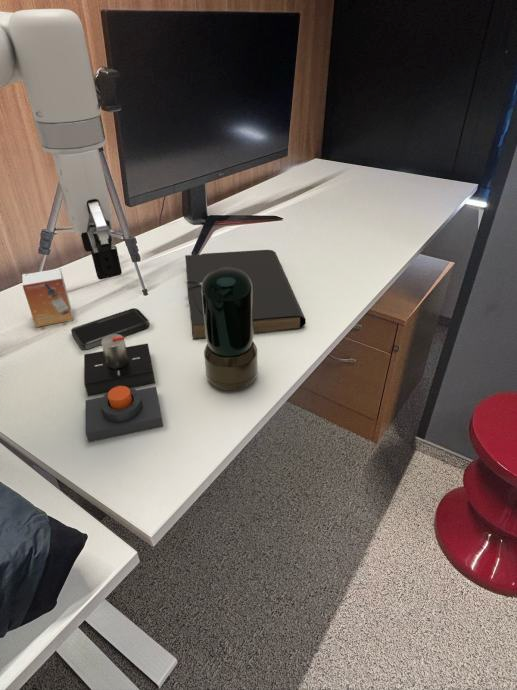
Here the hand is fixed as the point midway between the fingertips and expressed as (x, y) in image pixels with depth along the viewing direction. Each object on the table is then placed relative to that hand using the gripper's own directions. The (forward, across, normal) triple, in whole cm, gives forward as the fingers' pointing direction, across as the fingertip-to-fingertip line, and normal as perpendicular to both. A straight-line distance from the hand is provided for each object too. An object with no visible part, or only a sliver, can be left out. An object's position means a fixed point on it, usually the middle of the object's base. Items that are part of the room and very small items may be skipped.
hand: (102, 262), depth 68 cm
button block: (+28, +2, -3) cm, 28 cm away
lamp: (+28, +1, +18) cm, 33 cm away
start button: (+24, +2, -3) cm, 24 cm away
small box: (+27, -36, -9) cm, 46 cm away
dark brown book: (+28, -26, +32) cm, 50 cm away
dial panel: (+27, -10, -1) cm, 29 cm away
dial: (+24, -9, -1) cm, 26 cm away
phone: (+27, -25, +1) cm, 37 cm away
